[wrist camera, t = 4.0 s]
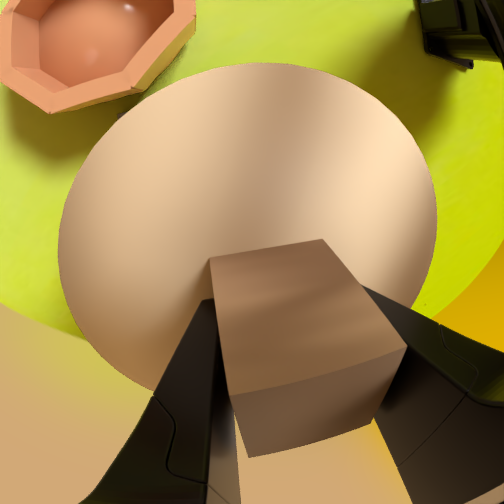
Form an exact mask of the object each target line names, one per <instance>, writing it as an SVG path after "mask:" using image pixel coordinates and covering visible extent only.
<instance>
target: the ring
mask: <svg viewBox="0 0 504 504" xmlns="http://www.w3.org/2000/svg"><path fill="white" fill-rule="evenodd" d="M1 13H2V14H1V15H0V82H1V83H3V84H4V85H6V86H7V87H9V88H10V89H12V90H13V91H15V92H16V93H18V94H19V95H21V96H23V97H24V98H26V99H27V100H29V101H30V102H32V103H33V104H35V105H36V106H38V107H39V108H41V109H42V110H44V111H45V112H47V113H48V114H54V113H60V112H67V111H74V110H78V109H81V108H84V107H87V106H91V105H94V104H97V103H102V102H107V101H112V100H115V99H118V98H121V97H124V96H127V95H131V94H136V93H140V92H144V91H143V90H146V89H147V88H148V87H149V86H150V84H151V83H152V82H153V80H154V79H155V78H156V77H157V76H158V75H160V74H161V73H162V72H163V71H164V70H165V69H166V68H167V67H168V66H169V65H170V64H171V63H172V61H173V60H174V59H175V57H176V56H177V55H178V53H179V52H180V50H181V49H182V47H183V45H184V44H185V43H186V42H187V41H188V40H189V39H190V38H191V37H192V36H193V35H194V34H195V31H196V5H195V0H9V2H8V3H7V5H6V6H5V7H4V9H3V10H2V12H1Z"/></svg>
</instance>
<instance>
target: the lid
mask: <svg viewBox="0 0 504 504" xmlns="http://www.w3.org/2000/svg"><path fill="white" fill-rule="evenodd" d="M436 232H437V207H436V197H435V192H434V187H433V183H432V178H431V175H430V172H429V170H428V167H427V164H426V162H425V159H424V157H423V155H422V153H421V151H420V149H419V147H418V146H417V144H416V142H415V140H414V139H413V137H412V135H411V134H410V133H409V131H408V130H407V129H406V128H405V126H404V125H403V124H402V123H401V122H400V120H399V119H398V118H397V117H396V116H395V115H394V114H393V113H392V112H391V111H390V110H389V109H388V108H387V107H385V106H384V105H383V104H382V103H381V102H380V101H379V100H377V99H376V98H375V97H373V96H372V95H370V94H369V93H367V92H365V91H364V90H362V89H361V88H359V87H357V86H356V85H354V84H352V83H351V82H348V81H346V80H343V79H341V78H339V77H336V76H334V75H331V74H328V73H326V72H323V71H320V70H316V69H311V68H306V67H302V66H297V65H292V64H280V63H247V64H239V65H232V66H225V67H219V68H215V69H211V70H208V71H205V72H202V73H198V74H195V75H192V76H189V77H187V78H184V79H181V80H179V81H177V82H175V83H173V84H171V85H169V86H167V87H165V88H163V89H161V90H159V91H158V92H156V93H154V94H152V95H150V96H149V97H147V98H145V99H144V100H143V101H141V102H140V103H139V104H137V105H136V106H135V107H134V108H132V109H131V110H130V111H128V112H127V113H126V114H125V115H123V116H122V117H121V118H120V119H119V120H117V121H116V122H115V124H114V125H113V126H112V127H111V128H110V129H109V130H108V131H107V132H106V133H105V134H104V136H103V137H102V138H101V139H100V140H99V141H98V142H97V144H96V145H95V146H94V147H93V149H92V150H91V152H90V153H89V155H88V157H87V158H86V160H85V161H84V163H83V165H82V166H81V168H80V169H79V171H78V173H77V175H76V177H75V179H74V182H73V184H72V186H71V189H70V191H69V194H68V196H67V199H66V202H65V205H64V209H63V214H62V218H61V223H60V228H59V239H58V263H59V272H60V279H61V284H62V288H63V291H64V295H65V298H66V301H67V304H68V306H69V309H70V311H71V313H72V315H73V317H74V319H75V322H76V324H77V325H78V327H79V328H80V330H81V331H82V333H83V334H84V336H85V337H86V339H87V340H88V342H89V343H90V344H91V345H92V346H93V348H94V349H95V350H96V351H97V352H98V353H99V354H100V355H101V357H103V358H104V359H105V360H106V361H107V362H108V363H109V364H111V365H112V366H113V367H114V368H115V369H116V370H118V371H119V372H120V373H122V374H123V375H125V376H126V377H128V378H129V379H131V380H132V381H134V382H136V383H138V384H140V385H142V386H143V387H145V388H147V389H149V390H152V391H155V389H156V387H157V385H158V383H159V381H160V379H161V377H162V375H163V373H164V371H165V369H166V367H167V365H168V363H169V361H170V359H171V358H172V356H173V354H174V352H175V350H176V348H177V346H178V344H179V342H180V340H181V338H182V336H183V334H184V332H185V330H186V329H187V327H188V325H189V323H190V321H191V319H192V317H193V315H194V313H195V311H196V310H197V308H198V306H199V304H200V302H201V301H202V300H204V299H210V298H214V300H215V307H216V314H217V321H218V328H219V335H220V342H221V348H222V355H223V361H224V367H225V374H226V380H227V386H228V391H229V397H230V400H231V403H232V407H233V410H234V413H235V417H236V420H237V423H238V426H239V430H240V433H241V436H242V439H243V442H244V445H245V448H246V451H247V454H248V457H249V458H251V457H256V456H261V455H266V454H271V453H276V452H280V451H284V450H289V449H292V448H296V447H300V446H304V445H308V444H311V443H315V442H318V441H321V440H325V439H328V438H331V437H334V436H337V435H340V434H343V433H346V432H349V431H352V430H354V429H357V428H360V427H363V426H365V425H368V424H370V423H371V421H372V419H373V417H374V416H375V414H376V412H377V410H378V408H379V406H380V404H381V402H382V401H383V399H384V397H385V395H386V393H387V391H388V389H389V386H390V384H391V382H392V380H393V378H394V376H395V374H396V372H397V369H398V367H399V365H400V363H401V360H402V358H403V356H404V353H405V351H406V348H407V345H406V343H405V342H404V341H403V339H402V338H401V337H400V335H399V334H398V333H397V331H396V330H395V329H394V327H393V326H392V325H391V323H390V322H389V321H388V319H387V318H386V317H385V315H384V314H383V313H382V311H381V310H380V309H379V307H378V306H377V305H376V304H375V302H374V301H373V300H372V298H371V297H370V296H369V295H368V293H367V292H366V291H365V290H364V288H363V287H362V286H361V285H363V286H365V287H367V288H369V289H371V290H373V291H376V292H378V293H380V294H382V295H384V296H386V297H388V298H390V299H392V300H394V301H396V302H398V303H400V304H402V305H404V306H406V307H408V308H411V307H412V305H413V303H414V302H415V300H416V298H417V296H418V294H419V292H420V290H421V288H422V286H423V283H424V281H425V279H426V276H427V274H428V270H429V267H430V264H431V261H432V257H433V252H434V247H435V241H436Z"/></svg>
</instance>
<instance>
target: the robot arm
mask: <svg viewBox="0 0 504 504" xmlns="http://www.w3.org/2000/svg"><path fill="white" fill-rule="evenodd" d="M418 2H419V8H420V15H421V22H422V30H423V39H424V49H425V52H426V53H427V54H428V55H430V56H434V57H437V58H440V59H443V60H446V61H448V62H451V63H454V64H457V65H459V66H462V67H465V68H467V69H473V67H474V64H473V60H482V61H493V62H501V64H502V67H503V70H504V0H418ZM430 49H431V51H430ZM361 286H362V287H363V288H364V290H365V291H366V292H367V293H368V295H369V296H370V297H371V298H372V300H373V301H374V302H375V304H376V305H377V306H378V307H379V309H380V310H381V311H382V313H383V314H384V315H385V317H386V318H387V319H388V321H389V322H390V323H391V325H392V326H393V327H394V329H395V330H396V331H397V333H398V334H399V335H400V337H401V338H402V339H403V341H404V342H405V343H406V345H407V348H406V351H405V353H404V356H403V358H402V360H401V363H400V365H399V367H398V369H397V372H396V374H395V376H394V378H393V380H392V382H391V384H390V386H389V389H388V391H387V393H386V395H385V397H384V399H383V401H382V402H381V404H380V406H379V408H378V410H377V412H376V414H375V416H374V419H375V421H376V423H377V425H378V427H379V429H380V432H381V434H382V436H383V438H384V440H385V442H386V445H387V447H388V449H389V451H390V453H391V455H392V457H393V460H394V462H395V464H396V466H397V469H398V471H399V473H400V476H401V478H402V480H403V482H404V485H405V487H406V489H407V492H408V494H409V496H410V498H411V501H412V503H413V504H504V353H503V352H501V351H499V350H496V349H493V348H491V347H489V346H486V345H484V344H481V343H479V342H477V341H475V340H472V339H470V338H468V337H465V336H464V335H461V334H459V333H457V332H455V331H453V330H451V329H449V328H447V327H445V326H443V325H441V324H440V325H439V323H437V322H435V321H433V320H432V319H430V318H428V317H426V316H424V315H422V314H420V313H418V312H416V311H414V310H412V309H410V308H408V307H406V306H404V305H402V304H400V303H398V302H396V301H394V300H392V299H390V298H388V297H386V296H384V295H382V294H380V293H378V292H376V291H373V290H371V289H369V288H367V287H365V286H363V285H361ZM153 395H154V396H152V397H151V398H150V401H149V403H148V405H147V407H146V409H145V411H144V412H143V414H142V416H141V418H140V420H139V422H138V424H137V425H136V427H135V429H134V430H133V432H132V434H131V435H130V437H129V438H128V440H127V441H126V443H125V445H124V446H123V448H122V449H121V451H120V452H119V454H118V455H117V457H116V458H115V460H114V461H113V463H112V464H111V466H110V467H109V469H108V470H107V472H106V473H105V475H104V476H103V478H102V479H101V481H100V482H99V483H98V485H97V486H96V488H95V489H94V490H93V491H92V492H91V493H90V494H89V495H88V496H87V497H86V498H85V499H84V500H82V501H81V502H80V503H79V504H241V498H240V487H239V475H238V462H237V449H236V435H235V421H234V410H233V407H232V403H231V400H230V397H229V391H228V386H227V380H226V374H225V367H224V361H223V355H222V348H221V342H220V335H219V328H218V321H217V314H216V307H215V300H214V298H210V299H204V300H202V301H201V302H200V304H199V306H198V308H197V310H196V311H195V313H194V315H193V317H192V319H191V321H190V323H189V325H188V327H187V329H186V330H185V332H184V334H183V336H182V338H181V340H180V342H179V344H178V346H177V348H176V350H175V352H174V354H173V356H172V358H171V359H170V361H169V363H168V365H167V367H166V369H165V371H164V373H163V375H162V377H161V379H160V381H159V383H158V385H157V387H156V389H155V391H154V393H153Z"/></svg>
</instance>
